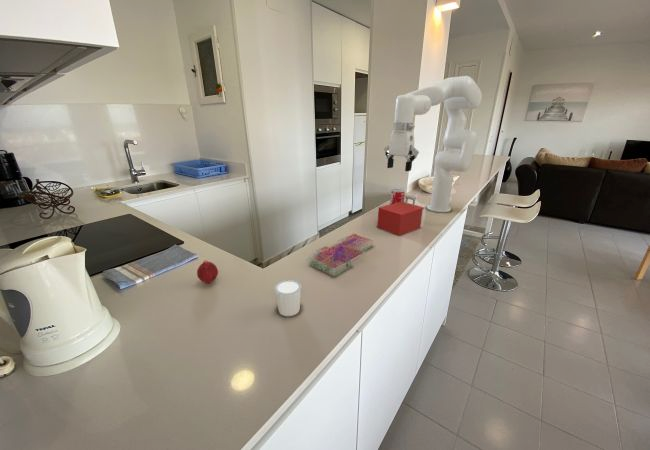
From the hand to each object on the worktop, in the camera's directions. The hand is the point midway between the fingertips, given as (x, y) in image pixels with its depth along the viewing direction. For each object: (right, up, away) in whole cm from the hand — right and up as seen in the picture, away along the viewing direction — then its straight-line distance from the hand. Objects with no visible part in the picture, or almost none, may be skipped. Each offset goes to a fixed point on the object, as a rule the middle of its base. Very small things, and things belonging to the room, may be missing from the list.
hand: (398, 169), depth 121 cm
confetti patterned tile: (-25, -36, -18) cm, 47 cm away
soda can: (+5, -19, +26) cm, 32 cm away
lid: (+3, -17, +5) cm, 18 cm away
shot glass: (-42, -47, -47) cm, 78 cm away
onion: (-68, -42, -35) cm, 87 cm away
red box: (+2, -25, +8) cm, 27 cm away
